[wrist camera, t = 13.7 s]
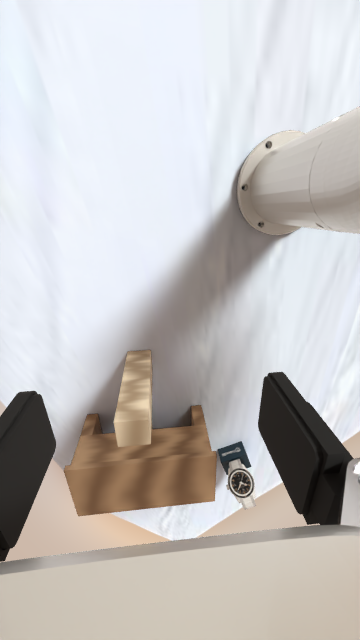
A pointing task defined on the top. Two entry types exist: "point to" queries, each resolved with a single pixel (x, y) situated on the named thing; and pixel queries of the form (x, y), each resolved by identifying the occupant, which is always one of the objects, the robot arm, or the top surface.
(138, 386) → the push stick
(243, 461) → the watch
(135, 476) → the cabinet
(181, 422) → the top surface
